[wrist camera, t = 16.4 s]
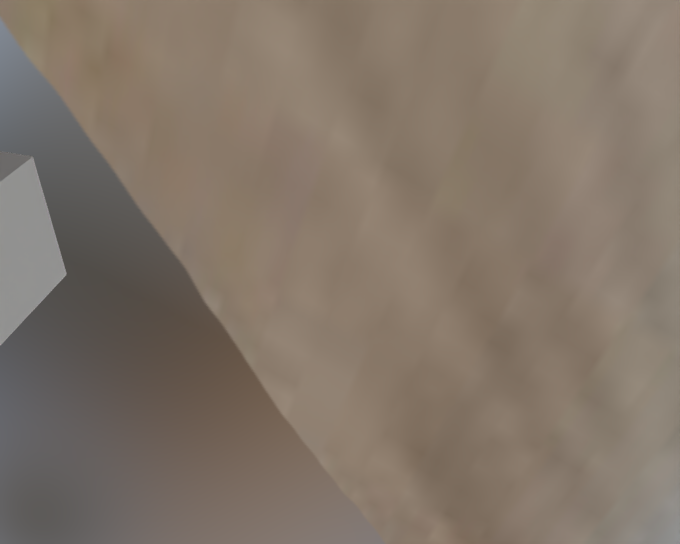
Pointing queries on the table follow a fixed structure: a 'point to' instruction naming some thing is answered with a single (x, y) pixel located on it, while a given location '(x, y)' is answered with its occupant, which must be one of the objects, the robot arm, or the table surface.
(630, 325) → the table surface
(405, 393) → the table surface
